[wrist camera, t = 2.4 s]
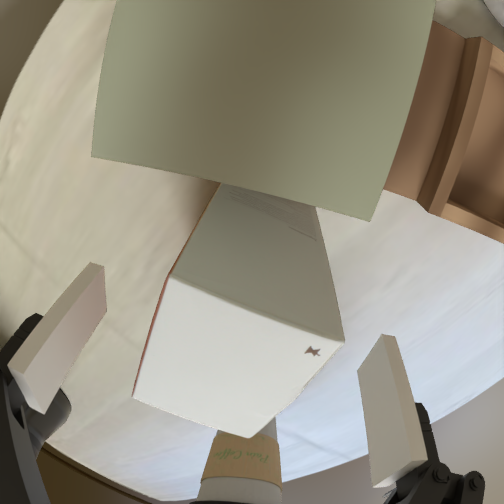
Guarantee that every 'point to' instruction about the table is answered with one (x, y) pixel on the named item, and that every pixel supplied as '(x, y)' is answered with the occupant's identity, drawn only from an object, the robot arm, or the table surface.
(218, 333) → the small box
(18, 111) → the table surface
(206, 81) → the brown divided tray
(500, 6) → the can
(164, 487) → the table surface
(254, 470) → the coffee cup
